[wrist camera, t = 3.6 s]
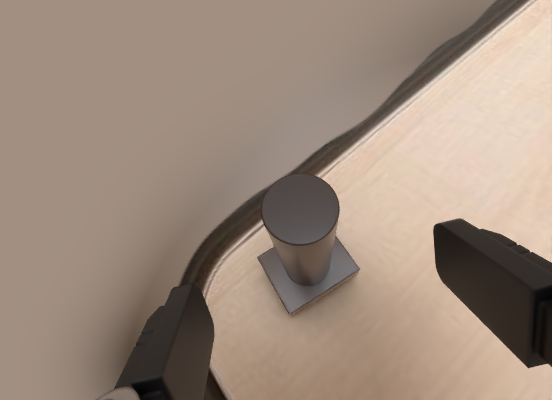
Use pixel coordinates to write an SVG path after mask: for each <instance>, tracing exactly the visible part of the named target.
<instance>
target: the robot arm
mask: <svg viewBox="0 0 552 400" xmlns="http://www.w3.org/2000/svg"><path fill="white" fill-rule="evenodd" d="M433 234H434V249H435V263H436V269H437V272H438V274H439V277H440V278H441V280H442V282H443V283H444V284H445V285H446V286H447V287H448V288H449V289H450V290H451V291H452V292H453V293H454V294H455V295H456V296H457V297H458V298H459V299H460V300H461V301H462V302H463V303H464V304H465V305H466V306H467V307H468V308H469V309H470V310H471V311H472V312H473V313H474V314H475V315H476V316H477V317H478V318H479V319H480V320H481V321H482V322H483V323H484V324H485V325H486V326H487V327H488V328H489V329H490V330H491V331H492V332H493V333H494V334H495V335H496V336H497V337H498V338H499V339H500V340H501V341H502V342H503V343H504V344H505V345H506V346H507V347H508V348H509V349H510V350H511V351H512V352H513V353H514V354H515V355H516V356H517V357H518V358H519V359H520V360H521V361H522V362H523V363H524V364H525V365H526V366H527V367H528V368H530V367H535V366H539V365H543V364H549V365H550V366H551V367H552V263H551V262H549V261H547V260H546V259H544V258H542V257H540V256H538V255H537V254H535V253H533V252H531V253H530V251H529V250H528V249H526V248H524V247H523V246H521V245H517V244H516V242H514V241H512V240H510V239H509V238H507V237H505V236H503V235H502V234H498V233H495V232H491V231H488V230H485V229H478V228H476V227H475V226H473V225H471V224H470V223H468V222H466V221H465V220H463V219H460V218H459V219H455V220H450V221H446V222H442V223H438V224H436V225H435V226H434V229H433ZM213 342H214V324H213V320H212V317H211V315H210V312H209V309H208V307H207V304H206V302H205V299H204V297H203V294H202V292H201V289H200V287H199V285H198V284H197V283H196V282H195V283H190V284H186V285H182V286H178V287H174V288H173V289H172V290H171V292H170V295H169V297H168V300H167V302H166V304H165V306H161V307H159V308H158V309H157V310H156V311H155V312H154V313H153V315H152V316H151V317H150V318H149V319H148V320H147V322H146V324H145V327H144V329H143V331H142V335H140V337H139V339H138V341H137V343H136V347H134V349H133V351H132V353H131V355H130V357H129V359H128V361H127V364H126V366H125V368H124V370H123V372H122V374H121V376H120V378H119V380H118V382H117V384H116V386H115V388H114V390H111V391H109V392H107V393H105V394H104V395H102V396H101V397H99V398H98V399H96V400H203V399H204V393H205V387H206V382H207V376H208V370H209V365H210V359H211V353H212V348H213Z"/></svg>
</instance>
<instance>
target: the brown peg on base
mask: <svg viewBox="0 0 552 400" xmlns="http://www.w3.org/2000/svg"><path fill="white" fill-rule="evenodd" d="M339 211H340V209H339V201H338V198H337V195H336V193H335V191H334V190H333V189H332V187H331V186H330V185H329V184H328V183H327V182H325V181H324V180H322V179H321V178H319V177H317V176H314V175H310V174H292V175H288V176H285V177H283V178H281V179H279V180H278V181H276V182H275V183H274V184H273V185H272V186H271V187H270V188H269V189H268V191H267V192H266V194H265V196H264V198H263V201H262V205H261V215H262V220H263V223H264V225H265V227H266V229H267V232H268V234H269V236H270V238H271V240H272V242H273V244H274V247H273V248H271V249H270V250H268V251H266V252H265V253H263V254H262V255H260V256H258V257H257V258H258V260H259V262H260V263H261V265H262V267H263V269H264V271H265V272H266V274H267V276H268V278H269V279H270V281H271V283H272V285H273V286H274V288H275V290H276V292H277V293H278V295H279V297H280V299H281V301H282V302H283V304H284V306H285V308H286V309H287V311H288V313H289V314H290V315H291V316H294V315H295V314H297V313H298V312H300V311H302V310H303V309H305V308H306V307H308V306H309V305H311V304H312V303H314V302H316V301H317V300H319V299H320V298H322V297H323V296H325V295H326V294H328V293H330V292H331V291H333V290H334V289H336V288H337V287H339V286H340V285H342V284H344V283H345V282H347V281H348V280H350V279H351V278H353V277H354V276H356V274H357V273H358V271H359V270H360V269H359V267H358V266H357V264H356V263H355V262H354V260H353V259H352V257H351V256H350V255H349V253H348V252H347V251H346V249H345V248H344V246H343V245H342V244H341V242H340V241H339V239H338V238H337V237H336V229H337V224H338V218H339Z"/></svg>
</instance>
